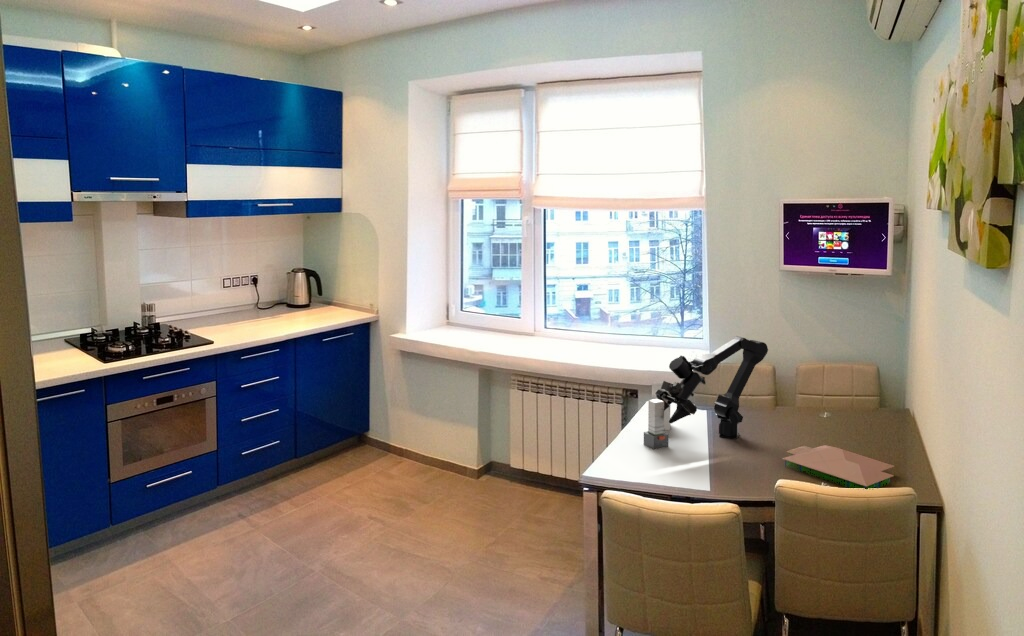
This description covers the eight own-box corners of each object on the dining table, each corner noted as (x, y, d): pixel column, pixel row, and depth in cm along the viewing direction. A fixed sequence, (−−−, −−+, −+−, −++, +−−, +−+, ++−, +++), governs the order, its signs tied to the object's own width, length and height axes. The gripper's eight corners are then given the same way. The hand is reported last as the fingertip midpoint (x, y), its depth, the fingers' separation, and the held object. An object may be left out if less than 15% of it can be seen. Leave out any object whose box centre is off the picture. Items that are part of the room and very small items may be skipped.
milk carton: (670, 432, 287) (670, 385, 284) (651, 432, 288) (651, 385, 286) (669, 427, 294) (670, 381, 291) (651, 426, 295) (652, 380, 292)
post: (657, 433, 271) (657, 398, 269) (664, 436, 267) (664, 401, 265) (648, 434, 269) (648, 400, 267) (654, 437, 266) (654, 402, 264)
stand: (659, 443, 276) (659, 427, 275) (675, 450, 266) (675, 435, 266) (636, 447, 272) (636, 431, 271) (652, 455, 263) (652, 439, 262)
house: (816, 451, 263) (817, 429, 262) (907, 479, 236) (909, 455, 234) (774, 465, 251) (775, 442, 250) (865, 496, 223) (867, 470, 222)
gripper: (659, 368, 276) (634, 400, 274) (690, 378, 259) (664, 413, 257) (676, 385, 281) (652, 417, 278) (708, 397, 264) (682, 431, 261)
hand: (662, 419), depth 268 cm, fingers open, 9 cm apart
